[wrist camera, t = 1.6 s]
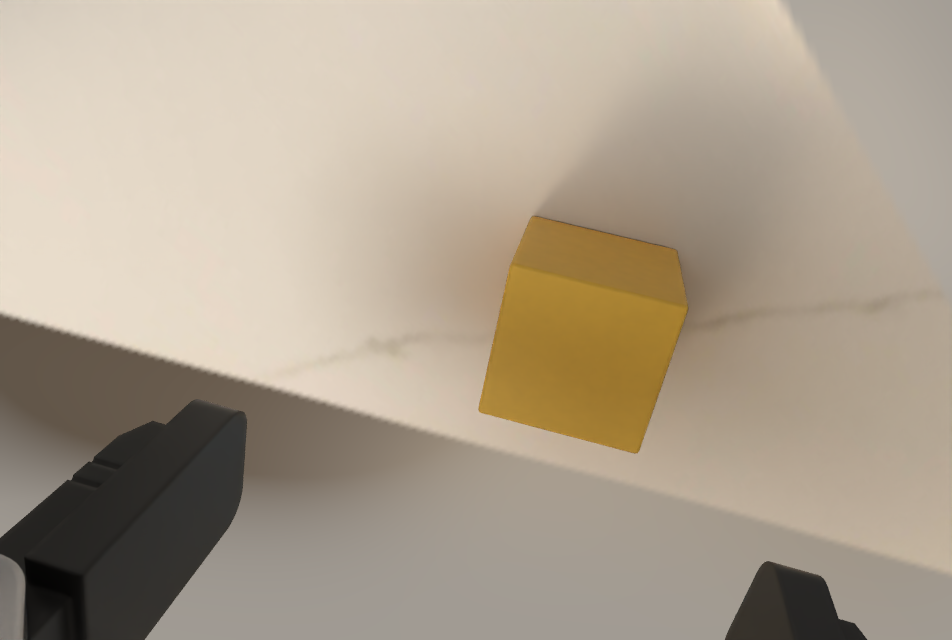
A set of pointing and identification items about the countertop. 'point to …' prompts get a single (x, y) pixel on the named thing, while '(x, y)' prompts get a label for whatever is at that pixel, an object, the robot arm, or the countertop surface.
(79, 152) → the countertop surface
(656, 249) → the block
